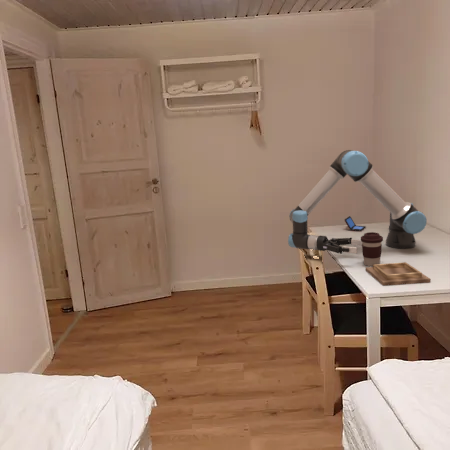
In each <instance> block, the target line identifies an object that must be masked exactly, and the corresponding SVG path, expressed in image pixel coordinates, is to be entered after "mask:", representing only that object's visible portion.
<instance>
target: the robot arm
mask: <svg viewBox="0 0 450 450" xmlns="http://www.w3.org/2000/svg"><path fill="white" fill-rule="evenodd" d="M346 176H348V177H349V178H350V179H351V180H352V181H353V182H354V183H360V184H361V185H362V186H363V187H364V188H365V189H366V190H367V191H368V192H369V193H370V194H371V195H372V196H373V197H374V198H375V199H376V200H377V201H378V202H379V203H380V204H381V205H382V206H383V207H384V208H385V209H386V210H387V211H388V212H389V225H390V230H389V229H388V230H389V231H388V234H387V236H386V239H385V246H387V247H389V248H393V249H394V248H395V249H412V248H415V247H416V246H417V245H416V244H417V241H416V238H415V235H417V234H419V233H421V232H422V231H424V229H425V228H426V226H427V217H426V215H425V214H424V213H423V212H421V211H419V210H418V209H417V208H416V207H415V205H414V203H413V202H409V201H405V200H404V199H403V198H401V196H400V195H399V194H398V193H396V191H395V190H394V189H392V187H391V186H390V185H389V184H387V182H386V181H384V179H383V178H382V177H381V176H379V174H378V173H377V172H376V171H375V170H374V165H373V163H371V162H370V161H369V159H368V157H367V156H366V154H364V153H363V152H361V151H360V150H353V149H346V150H344V151H342V152H340V154H338V156H337V157H336V158H335V159H334V161H333V162H331V164H330V165H329V168H328V171H327V172H326V173H325V174H324V175H323V176H322V177H321V178H320V180H319V181H318V182H317V183H316V184H315V185H314V186H313V188H312V189H311V190H310V191H309V192H308V194H306V196H305V197H304V198H303V199H302V200H301V201H300V203H299V204H298V205H297V206H296V207H295V208H294V209H292V210H291V211H290V212H289V214H288V215H289V220H290V223H291V224H292V233H289V235H288V239H287V243H288V246H289V247H290V248H295V249H300V250H301V249H302V250H303V249H304V250H312V249H313V250H314V251H319V252H320V251H323V252H325V251H329V252H333V253H335V254H343V253H348V254H358V247H359V246H360V247H362V241H361V239H353V237H347V238H346V237H345V238H344V237H343V238H342V237H341V238H338V237H337V238H334V237H332V238H330V239H328V237H327V236H326V235H319V234H308V233H309V232H308V216H309V215H310V214H311V213H312V212H313V210H314V209H315V208H316V207H317V206H318V205H319V204H320V202H321V201H322V200H323V199H324V198H325V197H326V196H327V195H328V194H329V192H330V191H331V190H332V189H333V188H334V187H335V185H336V184H337V183H338V182H339V181H340V180H342V179H344V178H346ZM344 245H346V246H344ZM347 245H351V246H347ZM354 246H355V247H354ZM356 246H358V247H356ZM313 250H312V251H313Z"/></svg>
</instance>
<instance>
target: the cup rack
mask: <svg viewBox="0 0 450 450" xmlns="http://www.w3.org/2000/svg"><path fill="white" fill-rule="evenodd" d="M365 272H366V273H368V275H370V276H371V277H372V278H374V279H375V280H376V281H377V282H378V283H379V284H380V285H382V286H383V287H386V286H388V287H389V286H397V285H399V286H400V285H412V284H428V283H431V282H432V281H431V279H432V278H430V277H429V276H427V275H425V274H423V273H422V272H421V271H420V270H419V269H417V268H415V267H414V266H413V265H411V264H409V263H407V262H406V261H405V262H403V261H402V262H391V263H390V262H389V263H380V264H375V265H373V266H367V267H365Z"/></svg>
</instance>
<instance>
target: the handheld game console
mask: <svg viewBox="0 0 450 450" xmlns="http://www.w3.org/2000/svg"><path fill="white" fill-rule="evenodd" d="M344 222H345V224H346V225H347V227H348V231H349V232H356V233H357V232H361V233H362V231H364V230H365V229H366V228H367V226H366V225H357V224H355V221H354V220H353V218H352V217H351V215H350V216H347V217H346V218H344Z"/></svg>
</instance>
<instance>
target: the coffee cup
mask: <svg viewBox="0 0 450 450" xmlns="http://www.w3.org/2000/svg"><path fill="white" fill-rule="evenodd" d="M360 240H361V241H362V246H361V248H362V249H361V250H362V251H361V252H362V258H363V264H364V265H365V266H367V267H373V265H375V264H381V257H382V247H383V245H382V242H383V241H384V236H382V235H380V233H378V232H374V231H371V232H365V233H364V234H363V235H361V236H360Z"/></svg>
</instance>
